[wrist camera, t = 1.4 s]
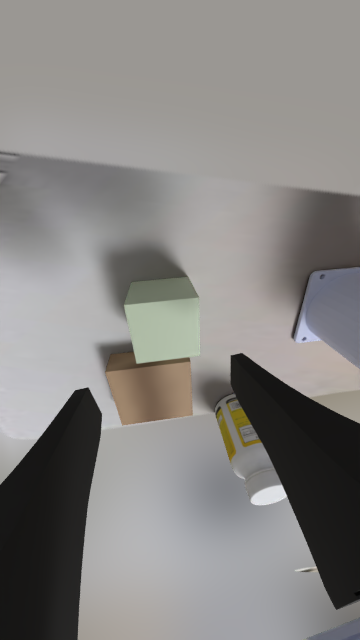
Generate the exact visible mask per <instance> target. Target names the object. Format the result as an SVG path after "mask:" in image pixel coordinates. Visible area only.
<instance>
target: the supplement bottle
mask: <svg viewBox="0 0 360 640" xmlns="http://www.w3.org/2000/svg"><path fill="white" fill-rule="evenodd" d="M215 414H216V418H217V421H218V425H219V428H220V430H221V434H222V437H223V440H224V443H225V446H226V450H227V453H228V457H229V460H230V463H231V466H232V469H233V471H234V472H235V474H236V475H238V476H239V477H241V478H243V479H245V488H246V490H247V493H248V496H249V499H250V501H251V503H253V504H255V505H268V504H272V503H275V502H277V501H280V500H282V499H284V498H285V497H287V495H286V493H285V491H284V488H283V486H282V484H281V482H280V479H279V477H278V475H277V473H276V471H275V469H274V466H273V464H272V462H271V460H270V458H269V456H268V454H267V452H266V450H265V448H264V446H263V444H262V442H261V441H260V439H259V437H258V435H257V434H256V432H255V430H254V428H253V427H252V425H251V423H250V421H249V420H248V418H247V416H246V414H245V413H244V411H243V409H242V407H241V406H240V404H239V402H238V400H237V398H236V395H235V394H232V395H229V396H227V397H225V398H223V399H222V400H221V401H220V402H219V403H218V404H217V406H216V408H215Z"/></svg>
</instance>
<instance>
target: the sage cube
mask: <svg viewBox="0 0 360 640" xmlns="http://www.w3.org/2000/svg"><path fill="white" fill-rule="evenodd" d="M124 308H125V313H126V317H127V322H128V326H129V331H130V335H131V340H132V344H133V349H134V354H135V358H136V363H137V364H138V363H146V362H154V361H162V360H170V359H178V358H186V357H194V356H200V325H199V296H198V295H197V293H196V291H195V289H194V287H193V285H192V283H191V281H190V279H189V277H179V278H169V279H158V280H148V281H137V282H131V285H130V288H129V291H128V294H127V297H126V300H125V303H124Z"/></svg>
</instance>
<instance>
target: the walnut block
mask: <svg viewBox="0 0 360 640" xmlns="http://www.w3.org/2000/svg"><path fill="white" fill-rule="evenodd" d="M105 373H106V376H107V379H108V382H109V386H110V389H111V392H112V395H113V398H114V401H115V404H116V407H117V410H118V413H119V416H120V420H121V423H122V425H128V424H135V423H142V422H149V421H156V420H163V419H170V418H177V417H184V416H191V415H193V411H192V388H191V365H190V358H189V357H186V358H178V359H170V360H162V361H154V362H146V363H138V364H137V363H136V358H135V354H134V352H127V353H119V354H111V355H110V358H109V361H108V365H107V368H106V371H105Z"/></svg>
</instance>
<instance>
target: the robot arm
mask: <svg viewBox="0 0 360 640" xmlns="http://www.w3.org/2000/svg"><path fill="white" fill-rule="evenodd" d="M321 275H322V276H321ZM320 276H321V278H320ZM303 337H304V338H303ZM302 338H303V339H302ZM319 340H322V341H324V342H325V343H326V344H328V345H329V346H330V347H331V348H333V349H334V350H335V351H337V352H338V353H339V354H341V355H342V356H343V357H345V358H346V359H347V360H349V361H350V362H351V363H352V364H354V365H355V366H356V367H358V368H359V369H360V267H353V268H342V269H332V270H321V271H314V272H313V273H312V274H311V275H310V278H309V282H308V285H307V289H306V293H305V297H304V301H303V305H302V308H301V312H300V316H299V320H298V324H297V327H296V331H295V335H294V341H295V342H296V343H303V342H311V341H319ZM231 386H232V388H233V391H234V393H235V395H236V398H237V400H238V402H239V404H240V406H241V407H242V409H243V411H244V413H245V414H246V416H247V418H248V420H249V421H250V423H251V425H252V427H253V428H254V430H255V432H256V434H257V435H258V437H259V439H260V441H261V442H262V444H263V446H264V448H265V450H266V452H267V454H268V456H269V458H270V460H271V462H272V464H273V466H274V469H275V471H276V473H277V475H278V477H279V479H280V482H281V484H282V486H283V488H284V491H285V493H286V495H287V497H288V499H289V502H290V504H291V506H292V509H293V511H294V513H295V516H296V518H297V520H298V523H299V525H300V527H301V530H302V532H303V534H304V537H305V539H306V542H307V544H308V547H309V549H310V552H311V554H312V556H313V559H314V561H315V564H316V566H317V569H318V571H319V574H320V577H321V579H322V582H323V584H324V587H325V589H326V591H327V593H328V595H329V597H330V599H331V601H332V603H333V605H334V607H335V608H336V610H337V609H340V608H343V607H345V606H348V605H350V604H353V603H356V602H358V601H360V424H359V423H357V422H355V421H353V420H351V419H349V418H347V417H344V416H342V415H340V414H338V413H336V412H334V411H332V410H330V409H328V408H327V407H325V406H323V405H321V404H319V403H317V402H315V401H314V400H312V399H310V398H308V397H306V396H305V395H303V394H301V393H300V392H298V391H296V390H295V389H293V388H292V387H290V386H288V385H287V384H285V383H284V382H282V381H281V380H279V379H278V378H276V377H275V376H273V375H272V374H270V373H269V372H268V371H266V370H265V369H263V368H262V367H261V366H259V365H258V364H256V363H255V362H254V361H252V360H251V359H250V358H248V357H247V356H245V355H244V354H243V353H240V354H235V355H231ZM101 422H102V413H101V411H100V409H99V407H98V405H97V403H96V401H95V400H94V398H93V396H92V394H91V392H90V390H89V388H84V389H79V390H75V391H74V393H73V394H72V395H71V397H70V398H69V399H68V401H67V402H66V404H65V405H64V406H63V408H62V409H61V410H60V412H59V413H58V414H57V416H56V417H55V418H54V420H53V421H52V422H51V424H50V425H49V426H48V428H47V429H46V430H45V432H44V433H43V434H42V436H41V437H40V438H39V439H38V441H37V442H36V443H35V444H34V446H33V447H32V448H31V449H30V451H29V452H28V453H27V454H26V455H25V457H24V458H23V459H22V460H21V462H20V463H19V464H18V465H17V466H16V468H15V469H14V470H13V471H12V472H11V473H10V474H9V476H8V477H7V478H6V479H5V480H4V481H3V482H2V484H1V485H0V640H77V637H78V616H79V600H80V599H79V598H80V583H81V570H82V558H83V546H84V536H85V526H86V517H87V508H88V500H89V494H90V488H91V483H92V478H93V473H94V468H95V462H96V457H97V452H98V447H99V441H100V435H101ZM303 640H360V618H358V619H355V620H352V621H350V622H347V623H345V624H342V625H339V626H337V627H334V628H332V629H329V630H327V631H324V632H321V633H319V634H316V635H314V636H311V637H309V638H306V639H303Z"/></svg>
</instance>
